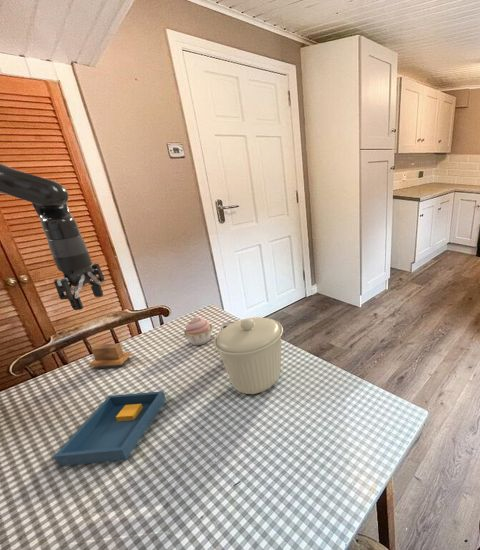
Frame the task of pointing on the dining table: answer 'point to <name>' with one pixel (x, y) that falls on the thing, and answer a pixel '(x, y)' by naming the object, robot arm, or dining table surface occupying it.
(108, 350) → the brown wooden stepped block
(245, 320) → the canister
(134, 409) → the yellow square block
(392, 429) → the dining table surface
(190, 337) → the cupcake
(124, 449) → the tray
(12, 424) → the dining table surface
